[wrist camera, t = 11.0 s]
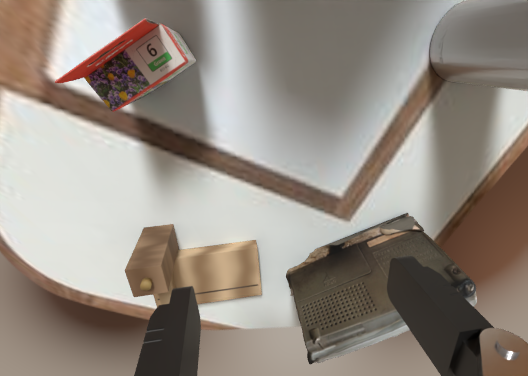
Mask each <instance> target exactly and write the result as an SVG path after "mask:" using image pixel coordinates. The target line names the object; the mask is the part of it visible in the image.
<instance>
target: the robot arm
mask: <svg viewBox="0 0 528 376" xmlns="http://www.w3.org/2000/svg"><path fill="white" fill-rule="evenodd" d="M430 58H431V63H432V66H433V69H434V70H435V72H436V73H437V75H439V76H440V77H441V78H442V79H444V80H447V81H450V82H458V83H466V84H473V85H481V86H489V87H498V88H506V89H514V90H523V91H528V0H466V1H463V2H461V3H459V4H457V5H456V6H454V7H453V8H452V9H451V10H449V11H448V12H447V13H446V15H445V16H444V17H443V18H442V19H441V21H440V22H439V24H438V26H437V27H436V30H435V32H434V34H433V37H432V41H431V46H430ZM387 293H388V296H389V299H390V301H391V303H392V304H393V306H394V307H395V309H396V310H397V312H398V313H399V314H400V316H401V317H402V319H403V320H404V322H405V323H406V325H407V326H408V328H409V329H410V331H411V332H412V333H413V335H414V336H415V338H416V339H417V341H418V342H419V344H420V345H421V347H422V348H423V350H424V351H425V352H426V354H427V355H428V357H429V358H430V360H431V361H432V363H433V364H434V366H435V367H436V369H437V370H438V372H439V373H440V374H441V376H528V343H527V342H526V341H524V340H523V339H522V338H520V337H519V336H517V335H515V334H513V333H511V332H509V331H506V330H503V329H499V328H494V327H493V326H492V325H491V324H490V323H489V322H488V321H487V320H486V319H485V318H484V317H483V316H482V315H481V314H480V313H479V312H478V311H477V310H476V309H475V308H474V307H473V306H472V305H471V304H470V303H469V302H468V301H467V300H466V299H465V298H464V297H463V296H462V295H460V294H459V292H458V291H457V290H456V289H455V288H454V287H453V286H451V284H450V283H449V282H448V281H447V280H446V279H445V278H444V277H443V276H442V275H441V274H440V273H438V272H436V271H435V270H433V269H431V268H429V267H428V266H426V267H423V266H422V265H421V264H420V263H419V262H418V261H417V259H416V258H415V257H413V256H411V255H409V256H402V257H395V258H392V259H391V261H390V267H389V274H388V282H387ZM200 331H201V324H200V314H199V310H198V305H197V301H196V296H195V292H194V288H193V286H188V287H181V288H174V289H173V290H172V292H171V297H170V302H169V304H163V305H159V306H158V307H157V309H156V310H155V311H154V313H153V314H152V316H151V317H150V320H149V324H148V327H147V333H146V335H145V338H144V344H143V346H142V349H141V353H140V357H139V361H138V364H137V368H136V372H135V375H134V376H197V369H198V357H199V344H200Z"/></svg>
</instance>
